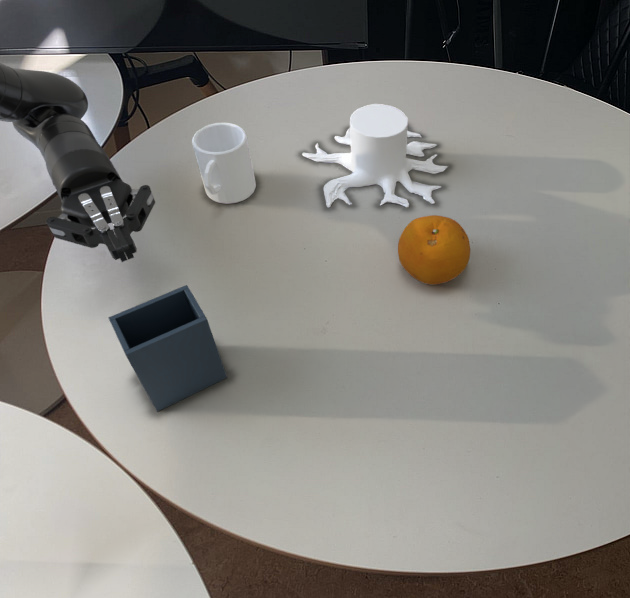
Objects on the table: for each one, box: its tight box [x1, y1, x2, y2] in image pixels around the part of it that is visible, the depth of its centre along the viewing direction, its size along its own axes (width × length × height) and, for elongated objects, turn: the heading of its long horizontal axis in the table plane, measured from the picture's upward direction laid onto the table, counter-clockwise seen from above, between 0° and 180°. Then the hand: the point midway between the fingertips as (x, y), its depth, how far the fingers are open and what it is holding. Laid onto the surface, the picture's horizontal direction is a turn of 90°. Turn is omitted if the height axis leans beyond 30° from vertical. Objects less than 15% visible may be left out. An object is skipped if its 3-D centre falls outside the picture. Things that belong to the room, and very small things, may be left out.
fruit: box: [397, 214, 471, 286], centre depth 86 cm, size 10×10×8 cm
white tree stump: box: [301, 103, 449, 208], centre depth 100 cm, size 23×25×9 cm
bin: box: [108, 284, 228, 413], centre depth 71 cm, size 6×9×12 cm, turn 124°
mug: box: [191, 122, 257, 205], centre depth 94 cm, size 8×12×10 cm
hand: (126, 254), depth 69 cm, fingers closed
